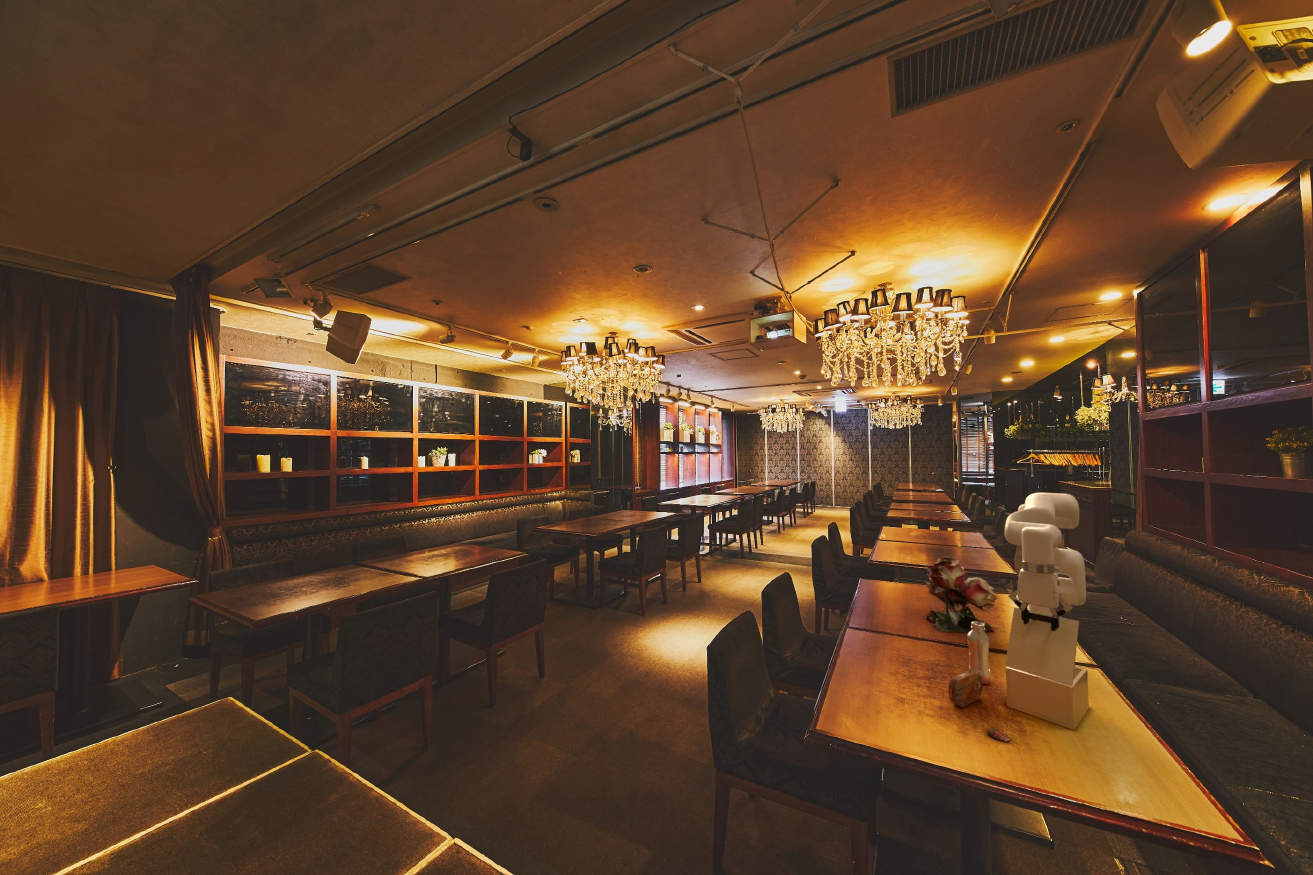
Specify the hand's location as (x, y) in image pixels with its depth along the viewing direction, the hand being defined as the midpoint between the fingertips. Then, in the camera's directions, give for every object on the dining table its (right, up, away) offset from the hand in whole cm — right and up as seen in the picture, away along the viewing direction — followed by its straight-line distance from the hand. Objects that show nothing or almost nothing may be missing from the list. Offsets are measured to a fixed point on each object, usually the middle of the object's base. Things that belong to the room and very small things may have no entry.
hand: (1040, 625), depth 143 cm
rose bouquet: (+21, -28, +74) cm, 82 cm away
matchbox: (-21, -26, -12) cm, 36 cm away
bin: (+4, -26, +2) cm, 27 cm away
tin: (-19, -27, +6) cm, 33 cm away
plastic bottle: (-6, -27, +18) cm, 33 cm away
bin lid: (+1, -6, 0) cm, 6 cm away
